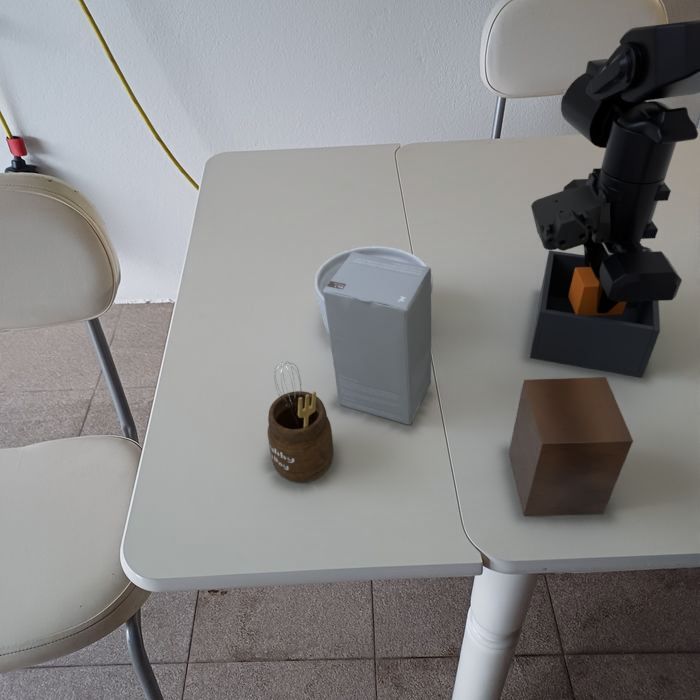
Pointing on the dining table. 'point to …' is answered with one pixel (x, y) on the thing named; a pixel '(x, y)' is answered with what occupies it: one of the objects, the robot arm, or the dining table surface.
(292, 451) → the utensil holder
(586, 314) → the orange block
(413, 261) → the ramekin
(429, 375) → the cosmetic box
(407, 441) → the dining table surface
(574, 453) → the stand
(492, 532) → the dining table surface
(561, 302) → the open box
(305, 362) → the dining table surface
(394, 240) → the dining table surface
